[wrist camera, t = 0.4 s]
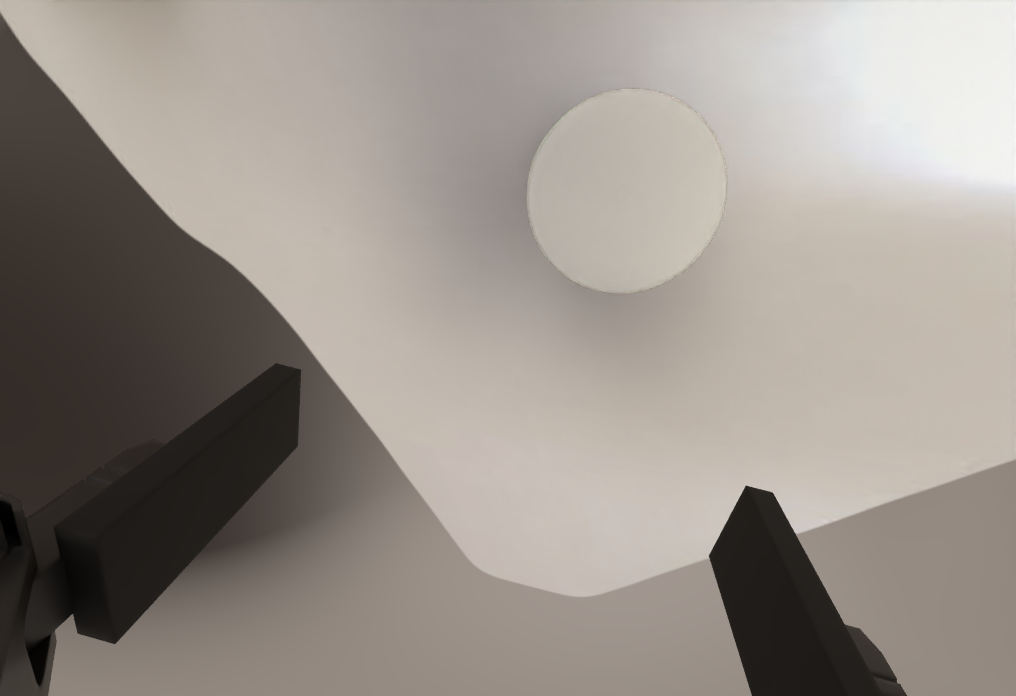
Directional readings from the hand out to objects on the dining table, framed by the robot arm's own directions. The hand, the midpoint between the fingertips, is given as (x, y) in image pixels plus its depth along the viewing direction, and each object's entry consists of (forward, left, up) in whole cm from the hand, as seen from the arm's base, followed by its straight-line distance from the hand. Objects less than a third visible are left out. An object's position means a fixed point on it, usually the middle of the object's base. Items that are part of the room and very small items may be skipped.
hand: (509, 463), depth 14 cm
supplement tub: (-7, +2, -27) cm, 28 cm away
